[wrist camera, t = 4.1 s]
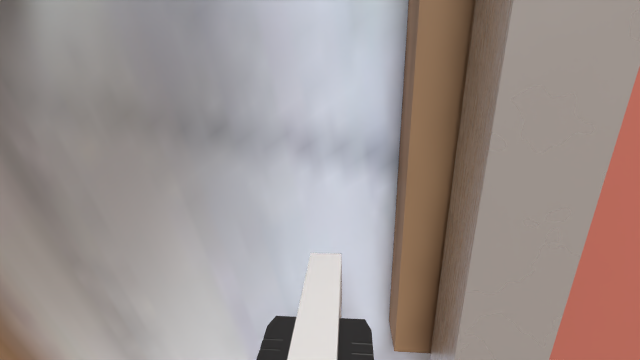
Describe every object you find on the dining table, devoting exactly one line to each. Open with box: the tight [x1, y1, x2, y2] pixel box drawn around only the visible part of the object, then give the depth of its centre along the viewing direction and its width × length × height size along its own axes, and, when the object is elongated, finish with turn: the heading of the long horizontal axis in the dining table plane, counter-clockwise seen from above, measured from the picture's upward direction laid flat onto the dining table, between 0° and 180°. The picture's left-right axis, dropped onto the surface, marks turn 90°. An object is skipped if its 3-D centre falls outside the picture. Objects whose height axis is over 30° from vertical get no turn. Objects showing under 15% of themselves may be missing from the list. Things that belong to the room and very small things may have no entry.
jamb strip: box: [389, 0, 476, 353], centre depth 14 cm, size 7×30×3 cm, turn 2°
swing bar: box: [430, 0, 640, 360], centre depth 11 cm, size 26×5×4 cm, turn 1°
